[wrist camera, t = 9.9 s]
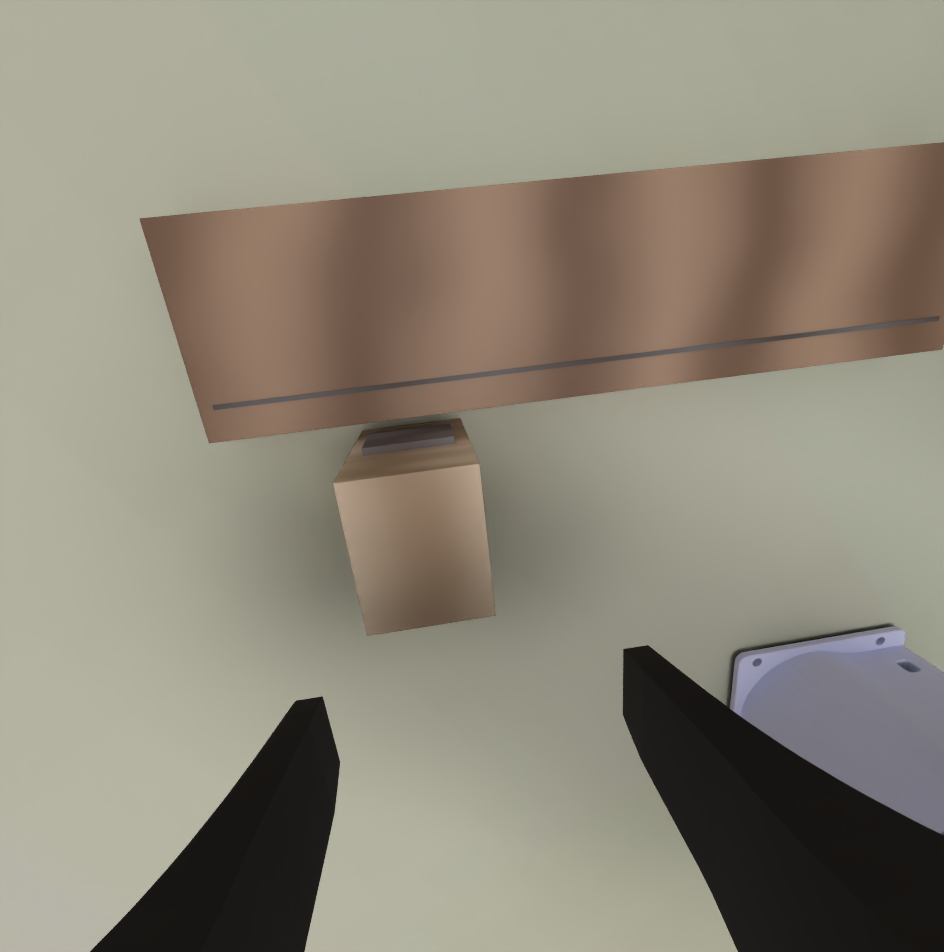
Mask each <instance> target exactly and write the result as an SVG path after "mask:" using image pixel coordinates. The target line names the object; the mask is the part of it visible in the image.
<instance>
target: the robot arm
mask: <svg viewBox="0 0 944 952" xmlns="http://www.w3.org/2000/svg"><path fill="white" fill-rule="evenodd" d="M904 640H905V632H904V631H903V630H902V629H900V628H898V627H896V626H892V627H887V628H881V629H875V630H869V631H863V632H857V633H852V634H846V635H840V636H834V637H828V638H822V639H817V640H811V641H805V642H799V643H793V644H787V645H782V646H776V647H770V648H764V649H758V650H752V651H747V652H742V653H740V654H739V655H738V656H737V657H736V659H735V664H734V674H733V683H732V693H731V703H730V708H728V707H727V706H726V705H724V704H723V703H722V702H720V701H719V700H718V699H716V698H715V697H713V696H712V695H711V694H709V693H708V692H707V691H706V690H704V689H703V688H702V687H700V686H699V685H698V684H696V683H695V682H694V681H693V680H691V679H690V678H689V677H688V676H686V675H685V674H684V673H682V672H681V671H680V670H679V669H677V668H676V667H675V666H674V665H672V664H671V663H670V662H668V661H667V660H666V659H665V658H663V657H662V656H661V655H660V654H658V653H657V652H656V651H655V650H653V649H652V648H651V647H649V646H648V645H647V646H641V647H634V648H628V649H623V716H624V719H625V721H626V724H627V726H628V729H629V731H630V734H631V736H632V739H633V741H634V744H635V746H636V748H637V751H638V753H639V756H640V758H641V760H642V762H643V764H644V766H645V768H646V770H647V772H648V773H649V775H650V777H651V779H652V781H653V783H654V785H655V787H656V788H657V790H658V792H659V794H660V796H661V798H662V800H663V802H664V803H665V805H666V807H667V809H668V811H669V813H670V814H671V816H672V818H673V820H674V822H675V824H676V826H677V827H678V829H679V831H680V833H681V835H682V837H683V839H684V840H685V842H686V844H687V846H688V848H689V850H690V852H691V853H692V855H693V857H694V859H695V861H696V863H697V864H698V866H699V868H700V870H701V872H702V874H703V876H704V878H705V880H706V882H707V884H708V886H709V888H710V890H711V892H712V894H713V897H714V899H715V901H716V903H717V906H718V908H719V910H720V912H721V915H722V917H723V919H724V921H725V924H726V926H727V928H728V930H729V933H730V935H731V937H732V939H733V941H734V944H735V946H736V948H737V950H738V952H944V672H942V671H941V670H939V669H938V668H936V667H935V666H933V665H932V664H930V663H929V662H927V661H926V660H924V659H923V658H921V657H920V656H918V655H917V654H915V653H914V652H912V651H911V650H909V649H908V648H906V647H905V646H903V644H904ZM339 767H340V760H339V756H338V753H337V749H336V745H335V741H334V738H333V734H332V730H331V726H330V722H329V719H328V715H327V711H326V707H325V704H324V700H323V697H317V698H311V699H304V700H298V701H296V702H295V703H294V704H293V705H292V707H291V708H290V709H289V711H288V712H287V713H286V715H285V716H284V718H283V719H282V721H281V722H280V723H279V725H278V726H277V728H276V729H275V731H274V732H273V733H272V735H271V736H270V738H269V739H268V740H267V742H266V743H265V745H264V746H263V747H262V749H261V750H260V752H259V753H258V754H257V756H256V757H255V759H254V760H253V761H252V763H251V764H250V765H249V767H248V768H247V769H246V771H245V772H244V774H243V775H242V776H241V778H240V779H239V780H238V782H237V783H236V784H235V786H234V787H233V788H232V790H231V791H230V792H229V794H228V795H227V796H226V798H225V799H224V800H223V802H222V803H221V804H220V805H219V807H218V808H217V809H216V810H215V812H214V813H213V814H212V815H211V817H210V818H209V819H208V820H207V822H206V823H205V824H204V825H203V827H202V828H201V829H200V830H199V832H198V833H197V834H196V835H195V837H194V838H193V839H192V840H191V842H190V843H189V844H188V845H187V846H186V848H185V849H184V850H183V851H182V852H181V853H180V855H179V856H178V857H177V858H176V859H175V861H174V862H173V863H172V864H171V865H170V866H169V868H168V869H167V870H166V871H165V872H164V873H163V874H162V876H161V877H160V878H159V879H158V880H157V881H156V882H155V883H154V885H153V886H152V887H151V888H150V889H149V890H148V891H147V892H146V894H145V895H144V896H143V897H142V898H141V899H140V900H139V901H138V902H137V903H136V905H135V906H134V907H133V908H132V909H131V910H130V911H129V912H128V913H127V914H126V915H125V916H124V917H123V918H122V919H121V921H120V922H119V923H118V924H117V925H116V926H115V927H114V928H113V929H112V930H111V931H110V932H109V933H108V934H107V935H106V936H105V937H104V938H103V939H102V940H101V941H100V942H99V943H98V944H97V945H96V946H95V947H94V948H93V949H92V950H91V951H90V952H304V951H305V946H306V941H307V936H308V932H309V927H310V923H311V918H312V914H313V909H314V905H315V900H316V895H317V891H318V886H319V882H320V877H321V873H322V868H323V864H324V859H325V854H326V850H327V845H328V840H329V836H330V831H331V827H332V822H333V817H334V812H335V803H336V795H337V786H338V777H339Z"/></svg>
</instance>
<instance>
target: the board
mask: <svg viewBox="0 0 944 952" xmlns="http://www.w3.org/2000/svg"><path fill="white" fill-rule="evenodd" d="M140 222H141V225H142V229H143V232H144V235H145V238H146V241H147V245H148V248H149V251H150V254H151V258H152V261H153V264H154V267H155V270H156V274H157V277H158V280H159V283H160V287H161V290H162V293H163V296H164V299H165V303H166V306H167V309H168V312H169V316H170V319H171V322H172V325H173V329H174V332H175V335H176V338H177V341H178V345H179V348H180V351H181V354H182V358H183V361H184V364H185V367H186V370H187V374H188V377H189V380H190V383H191V387H192V390H193V393H194V396H195V399H196V403H197V406H198V409H199V412H200V416H201V419H202V422H203V425H204V428H205V432H206V435H207V438H208V441H209V443H215V442H223V441H231V440H239V439H246V438H254V437H262V436H270V435H278V434H285V433H293V432H301V431H309V430H317V429H324V428H332V427H340V426H348V425H356V424H363V423H371V422H379V421H387V420H395V419H402V418H410V417H418V416H426V415H434V414H441V413H449V412H457V411H465V410H473V409H480V408H488V407H496V406H504V405H512V404H520V403H527V402H535V401H543V400H551V399H559V398H566V397H574V396H582V395H590V394H598V393H605V392H613V391H621V390H629V389H637V388H644V387H652V386H660V385H668V384H676V383H683V382H691V381H699V380H707V379H715V378H722V377H730V376H738V375H746V374H754V373H762V372H769V371H777V370H785V369H793V368H801V367H808V366H816V365H824V364H832V363H840V362H847V361H855V360H863V359H871V358H879V357H886V356H894V355H902V354H910V353H918V352H925V351H933V350H941V349H942V348H943V343H944V142H943V143H932V144H922V145H911V146H901V147H890V148H880V149H869V150H858V151H848V152H837V153H827V154H816V155H806V156H795V157H784V158H774V159H763V160H753V161H742V162H732V163H721V164H710V165H700V166H689V167H679V168H668V169H658V170H647V171H637V172H626V173H615V174H605V175H594V176H584V177H573V178H563V179H552V180H541V181H531V182H520V183H510V184H499V185H489V186H478V187H468V188H457V189H446V190H436V191H425V192H415V193H404V194H394V195H383V196H372V197H362V198H351V199H341V200H330V201H320V202H309V203H298V204H288V205H277V206H267V207H256V208H246V209H235V210H225V211H214V212H203V213H193V214H182V215H172V216H161V217H151V218H140Z"/></svg>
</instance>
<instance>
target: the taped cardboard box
mask: <svg viewBox="0 0 944 952" xmlns="http://www.w3.org/2000/svg"><path fill="white" fill-rule="evenodd" d="M333 486H334V490H335V495H336V499H337V504H338V508H339V513H340V517H341V522H342V526H343V531H344V535H345V540H346V544H347V548H348V553H349V557H350V562H351V566H352V571H353V575H354V580H355V584H356V589H357V593H358V598H359V602H360V607H361V611H362V616H363V620H364V624H365V629H366V633H367V636H370V635H377V634H383V633H389V632H396V631H402V630H408V629H414V628H421V627H427V626H433V625H439V624H446V623H452V622H458V621H465V620H471V619H477V618H483V617H490V616H496V614H495V605H494V595H493V586H492V577H491V568H490V558H489V549H488V540H487V531H486V521H485V512H484V503H483V494H482V485H481V475H480V466H479V462H478V460H477V457H476V455H475V452H474V450H473V448H472V445H471V443H470V441H469V438H468V436H467V433H466V431H465V429H464V426H463V424H462V422H461V419H460V418H458V419H451V420H443V421H435V422H427V423H420V424H412V425H404V426H396V427H389V428H381V429H373V430H366V431H362V433H361V435H360V436H359V438H358V440H357V442H356V444H355V445H354V447H353V449H352V451H351V452H350V454H349V456H348V458H347V460H346V461H345V463H344V465H343V467H342V469H341V470H340V472H339V474H338V476H337V477H336V479H335V481H334V483H333Z"/></svg>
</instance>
